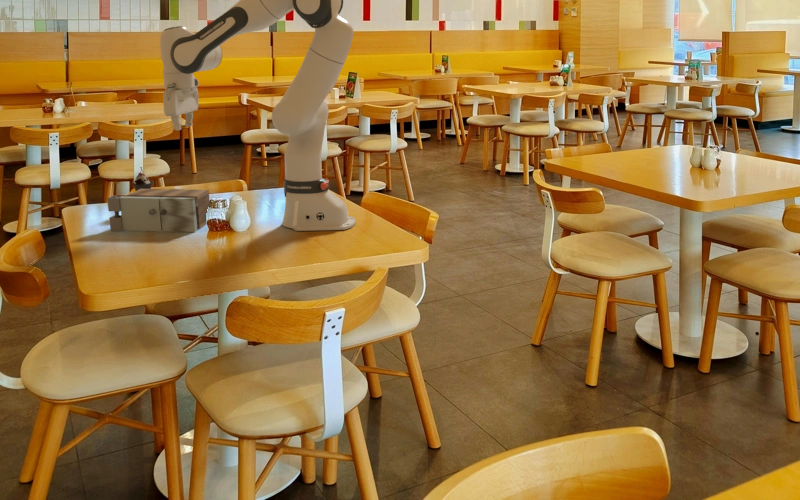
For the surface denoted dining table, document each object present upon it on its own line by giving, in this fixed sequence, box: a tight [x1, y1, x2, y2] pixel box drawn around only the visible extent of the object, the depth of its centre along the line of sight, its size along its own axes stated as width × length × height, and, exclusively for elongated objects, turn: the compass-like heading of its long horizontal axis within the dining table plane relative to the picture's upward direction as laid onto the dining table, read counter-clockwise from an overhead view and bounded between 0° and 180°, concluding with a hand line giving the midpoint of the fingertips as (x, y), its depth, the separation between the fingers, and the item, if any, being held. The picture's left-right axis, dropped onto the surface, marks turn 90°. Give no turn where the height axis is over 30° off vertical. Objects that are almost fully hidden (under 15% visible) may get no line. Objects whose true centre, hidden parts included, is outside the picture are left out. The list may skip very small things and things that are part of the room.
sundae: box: [131, 166, 154, 192], centre depth 255 cm, size 7×7×15 cm
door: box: [107, 195, 163, 232], centre depth 233 cm, size 16×4×10 cm, turn 84°
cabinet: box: [113, 188, 211, 233], centre depth 238 cm, size 25×15×10 cm, turn 84°
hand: (183, 128), depth 240 cm, fingers open, 8 cm apart
